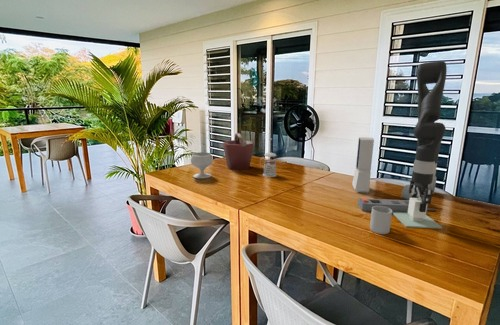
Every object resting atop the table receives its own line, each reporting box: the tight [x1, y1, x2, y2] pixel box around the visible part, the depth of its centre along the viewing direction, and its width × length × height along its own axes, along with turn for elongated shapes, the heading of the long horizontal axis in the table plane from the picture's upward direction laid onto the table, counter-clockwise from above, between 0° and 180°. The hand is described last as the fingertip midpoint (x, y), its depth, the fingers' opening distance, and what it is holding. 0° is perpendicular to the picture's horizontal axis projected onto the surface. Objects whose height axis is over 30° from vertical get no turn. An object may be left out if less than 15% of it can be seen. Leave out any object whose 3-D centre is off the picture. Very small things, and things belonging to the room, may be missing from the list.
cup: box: [369, 206, 393, 235], centre depth 113 cm, size 7×10×9 cm
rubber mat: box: [392, 212, 443, 229], centre depth 122 cm, size 14×14×1 cm
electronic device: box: [352, 136, 375, 194], centre depth 158 cm, size 12×8×30 cm, turn 168°
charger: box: [408, 198, 429, 221], centre depth 121 cm, size 5×5×9 cm
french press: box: [259, 137, 278, 178], centre depth 188 cm, size 10×12×25 cm
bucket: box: [222, 132, 254, 171], centre depth 208 cm, size 24×22×25 cm
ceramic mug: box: [401, 184, 424, 200], centre depth 145 cm, size 11×8×8 cm
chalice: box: [190, 151, 214, 180], centre depth 184 cm, size 14×14×15 cm
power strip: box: [357, 198, 436, 213], centre depth 133 cm, size 34×7×4 cm, turn 85°
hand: (417, 208), depth 121 cm, fingers open, 7 cm apart
